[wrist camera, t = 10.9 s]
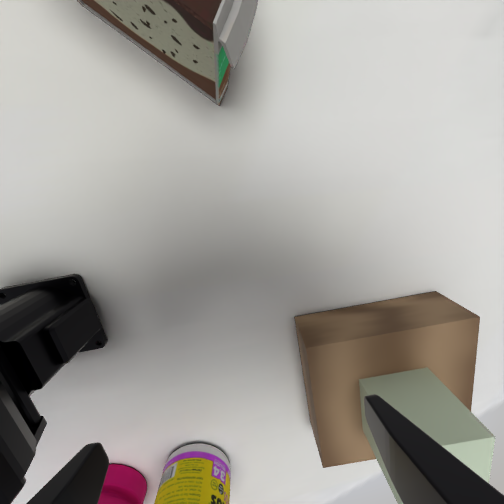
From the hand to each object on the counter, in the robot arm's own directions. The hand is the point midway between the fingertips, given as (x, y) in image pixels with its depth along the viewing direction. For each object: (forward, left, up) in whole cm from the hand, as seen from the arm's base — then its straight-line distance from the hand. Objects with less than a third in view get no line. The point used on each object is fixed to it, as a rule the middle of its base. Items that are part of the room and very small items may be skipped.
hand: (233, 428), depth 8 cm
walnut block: (+10, -10, -12) cm, 19 cm away
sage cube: (+10, -10, -8) cm, 16 cm away
